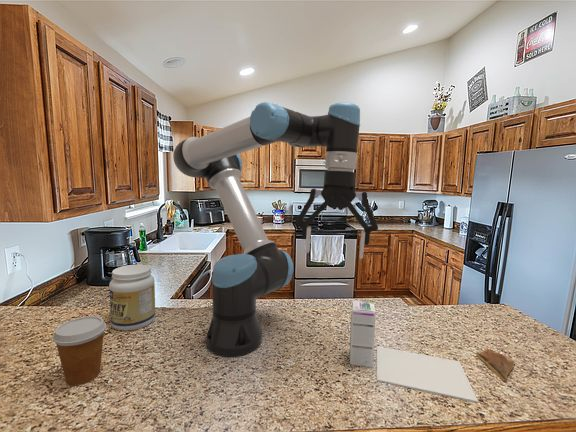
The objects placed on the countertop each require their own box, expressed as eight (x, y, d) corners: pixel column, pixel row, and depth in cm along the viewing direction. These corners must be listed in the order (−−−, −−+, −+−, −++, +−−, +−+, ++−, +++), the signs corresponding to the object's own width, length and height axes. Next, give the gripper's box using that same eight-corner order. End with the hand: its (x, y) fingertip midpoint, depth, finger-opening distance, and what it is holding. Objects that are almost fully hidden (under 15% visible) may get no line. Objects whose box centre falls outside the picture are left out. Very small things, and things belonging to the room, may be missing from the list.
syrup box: (373, 368, 69) (377, 311, 68) (348, 364, 70) (351, 308, 69) (371, 354, 75) (375, 301, 73) (348, 351, 76) (351, 299, 74)
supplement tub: (101, 326, 85) (98, 271, 83) (136, 310, 96) (134, 261, 94) (130, 336, 81) (128, 278, 79) (164, 317, 92) (162, 266, 90)
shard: (504, 385, 66) (505, 377, 65) (467, 368, 71) (467, 361, 71) (515, 366, 73) (516, 359, 72) (481, 352, 78) (481, 346, 78)
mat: (376, 381, 65) (377, 379, 65) (376, 347, 78) (376, 346, 78) (477, 403, 59) (478, 401, 59) (459, 362, 72) (459, 361, 72)
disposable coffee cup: (67, 398, 58) (63, 342, 56) (48, 379, 63) (44, 328, 61) (116, 372, 66) (114, 322, 64) (96, 357, 71) (93, 311, 69)
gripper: (287, 167, 69) (283, 253, 72) (396, 172, 64) (386, 263, 67) (293, 168, 76) (288, 246, 79) (390, 173, 71) (382, 255, 74)
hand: (333, 254), depth 73 cm, fingers open, 13 cm apart
